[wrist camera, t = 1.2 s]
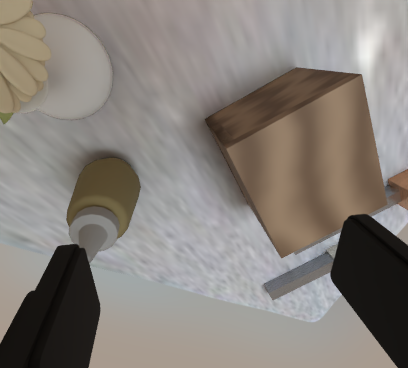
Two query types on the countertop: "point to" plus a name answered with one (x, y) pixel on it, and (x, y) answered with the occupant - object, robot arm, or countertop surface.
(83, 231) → the squeeze bottle
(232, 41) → the countertop surface
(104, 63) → the flower in vase
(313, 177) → the walnut cubby
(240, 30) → the countertop surface
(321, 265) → the l-shaped tool
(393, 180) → the crook tool
